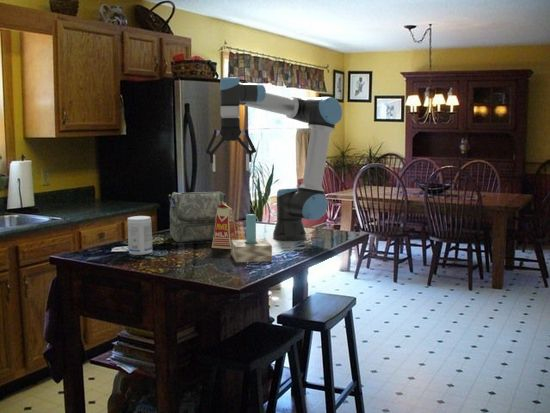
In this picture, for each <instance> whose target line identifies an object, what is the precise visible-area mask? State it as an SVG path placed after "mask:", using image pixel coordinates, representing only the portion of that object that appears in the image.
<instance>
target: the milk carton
mask: <svg viewBox="0 0 550 413" xmlns="http://www.w3.org/2000/svg"><path fill="white" fill-rule="evenodd" d="M231 240H237V233H236V227H235V220H234V212H233V209H232V208H231V207H230V206H228V205H227V202H225V201H224V202H223V201H222V204H221V205H220V206H219V207H218V208H217V214H216V218H215V231H214V237H213V240H212V242H211V243H212V244H211V248H212V249H227V250H231Z"/></svg>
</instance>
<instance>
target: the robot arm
mask: <svg viewBox="0 0 550 413" xmlns="http://www.w3.org/2000/svg"><path fill="white" fill-rule="evenodd" d="M219 93H220V94H219V95H220V96H219V97H220V99H219V100H220V103H219V104H220V130H219V129H218V130H216V129H213V130H212V135H211V138H210V140H209V142H208V143H207V146H206V148H205V151H204V153H206V154H207V155H209V163H210V164H212V172H213V173H214V172H215V173H216V155H215V153H216V151H217V150H218V149H219V148H220V147H221V145H222V144H223V143H224V142H225V141H226V142H231V141H232V142H235V141H237V142H238V143H239V145H240V146H241V147H242V148H243V149H244V150H245V152H247V153H246V154H245V159H246V160H245V166H246V167H245V168H246V169H245V170H246V171H247V172H249V171H250V163H252V159H253V157H252V155H253V154H255V153H257V150H256V148H255V146H254V143H253V141H252V140H251V138H250V136H249V130H248V129H241V122H240V121H241V119H240V115H241V114H240V113H241V111H240V106H246V107H248V108H249V107H250V108H254V109H259V110H261V111H262V110H263V111H266V112H269V113H270V112H271V113H274V114H275V113H276V114H280V115H285V116H286V118H288V119H291V120H295V121H298V122H302V123H306V124H307V126H308V127H309V129H310V132H309V133H310V134H309V135H310V136H309V140H308V146H307V147H308V148H307V153H306V159H305V165H304V172H303V178H302V183H301V184H300V185H299V186H298V187H293V188H291V187H290V188H281V189H278V190H277V193H276V224H275V226H274V230H273V233H272V238H273V239H274V240H278V241H300V240H305V239H306V237H307V232H306V230H305V226H304V223H303V219H304V220H310V221H316V220H320V219H321V218H322V217H324V215H325V214H326V213H327V210H328V205H329V202H328V200H327V197H326V195H325V189H324V188H323V180H324V174H325V168H326V162H327V156H328V149H329V143H330V138H331V133H332V132H333V131H334V130H335V128H336V127H335V126H336V124H338V123H339V122H340V121H341V120H342V116H343V108H342V105H341V103H340V102H339V100H337V99H336V98H335V97H331V96H321V97H320V96H319V97H295V96H292V97H290V98H289V97H285V96H281V95H278V94H273V93H269V92H266V88H265V86H264V84H261V83H256V82H253V83H248V82H247V83H246V82H244V83H243V82H240V79H239V77H236V76H235V77H233V76H232V77H231V76H230V77H225V76H224V77H221V78H220V83H219ZM219 134H220V136H221V137H220V139H219V141H218V142H217V143H216V144H215V145H214V146H213V144H214V143H215V142H214V141H215V140H216V137H217V136H219ZM241 134H242V135H243V136H244V137H245V138H244V139H245V140H246V142H247V144H248V145H249V147H248V146H247V145H246V144H245V142H244V141H243V140H242V139H241V137H240V135H241ZM212 146H213V147H212ZM211 148H212V149H211Z"/></svg>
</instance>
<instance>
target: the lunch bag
mask: <svg viewBox="0 0 550 413" xmlns="http://www.w3.org/2000/svg"><path fill="white" fill-rule="evenodd" d="M225 199H226V194H225V193H224V192H222V191H220V190H218V191H207V192H206V191H202V192H201V191H198V192H197V191H196V192H195V191H194V192H176V191H173V192H172V193H171V194H168V200H169V231H170V232H169V233H170V237H171V238H172V240H173V241H174V242H176V243H185V242H202V241H203V242H204V241H205V242H206V241H213V237H214V231H215V218H216V214H217V208H218V207H219V206H220V205H221V204H222V201H223V202H224V203H225V201H224V200H225Z"/></svg>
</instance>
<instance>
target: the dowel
mask: <svg viewBox="0 0 550 413" xmlns="http://www.w3.org/2000/svg"><path fill="white" fill-rule="evenodd" d="M256 218H257V216H256V214H254V213H250V214H246V215H245V233H246V235H245V240H246V244H256V239H257V221H256V220H257V219H256Z"/></svg>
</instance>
